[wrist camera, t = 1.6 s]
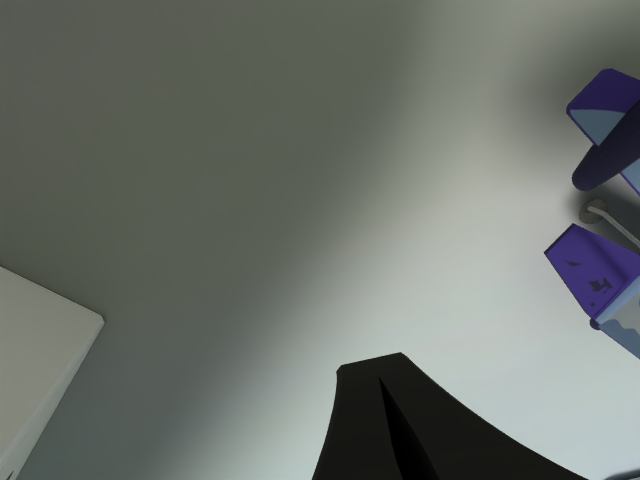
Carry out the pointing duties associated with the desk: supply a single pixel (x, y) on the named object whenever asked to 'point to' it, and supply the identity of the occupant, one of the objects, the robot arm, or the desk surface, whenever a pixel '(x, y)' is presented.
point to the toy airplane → (604, 210)
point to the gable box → (36, 361)
